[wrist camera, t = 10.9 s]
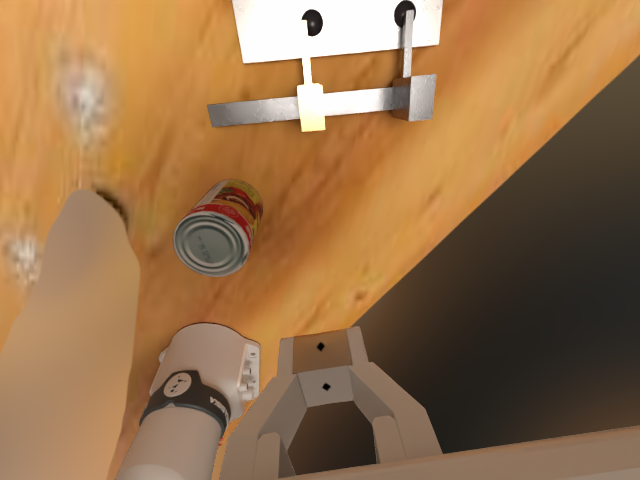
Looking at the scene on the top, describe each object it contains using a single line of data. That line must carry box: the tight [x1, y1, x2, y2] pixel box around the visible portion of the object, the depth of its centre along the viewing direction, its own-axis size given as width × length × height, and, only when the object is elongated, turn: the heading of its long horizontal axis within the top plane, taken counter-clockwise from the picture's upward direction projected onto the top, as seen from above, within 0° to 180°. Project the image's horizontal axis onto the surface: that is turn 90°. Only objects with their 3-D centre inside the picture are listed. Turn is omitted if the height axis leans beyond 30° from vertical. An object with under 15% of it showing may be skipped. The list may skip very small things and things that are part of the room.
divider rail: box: [207, 10, 436, 127], centre depth 30 cm, size 10×26×8 cm, turn 95°
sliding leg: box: [297, 20, 325, 132], centre depth 30 cm, size 10×2×8 cm, turn 5°
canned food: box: [173, 179, 263, 277], centre depth 35 cm, size 8×8×12 cm
